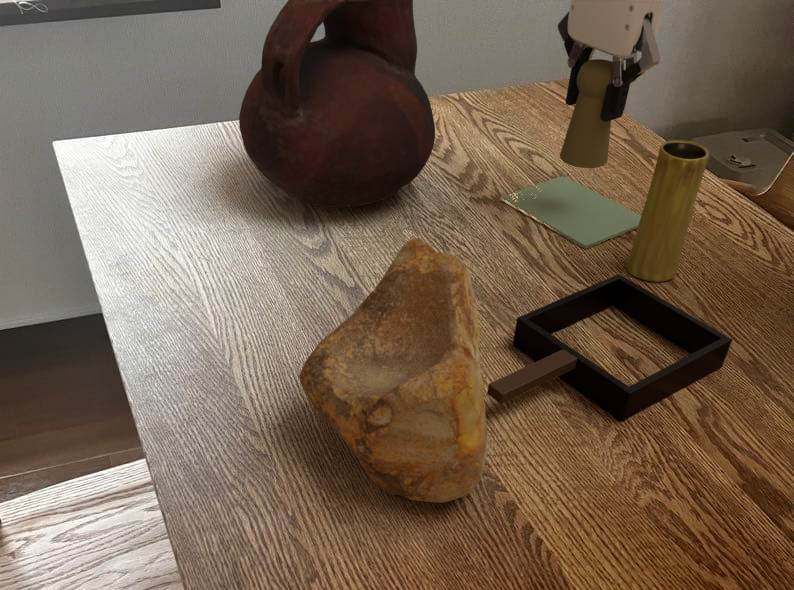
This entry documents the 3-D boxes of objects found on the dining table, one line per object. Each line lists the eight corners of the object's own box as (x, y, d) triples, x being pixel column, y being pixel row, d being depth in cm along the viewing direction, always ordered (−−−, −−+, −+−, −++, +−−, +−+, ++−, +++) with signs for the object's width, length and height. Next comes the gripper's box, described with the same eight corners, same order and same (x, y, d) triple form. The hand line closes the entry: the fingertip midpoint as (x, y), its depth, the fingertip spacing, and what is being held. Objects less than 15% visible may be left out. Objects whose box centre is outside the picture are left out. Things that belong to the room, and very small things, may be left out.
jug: (210, 182, 112) (181, -35, 94) (350, 136, 124) (348, -65, 106) (326, 253, 100) (318, 19, 82) (468, 194, 112) (489, -22, 94)
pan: (611, 301, 95) (618, 273, 92) (721, 367, 86) (732, 339, 84) (440, 378, 84) (442, 349, 81) (547, 462, 76) (553, 433, 73)
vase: (644, 287, 97) (679, 165, 86) (614, 262, 101) (644, 142, 90) (686, 277, 99) (725, 156, 88) (655, 253, 102) (689, 134, 92)
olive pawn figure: (598, 146, 106) (617, 52, 98) (614, 167, 102) (636, 70, 94) (553, 149, 106) (569, 54, 97) (568, 169, 102) (586, 72, 94)
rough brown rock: (314, 362, 86) (293, 230, 75) (472, 354, 86) (475, 219, 74) (300, 528, 71) (271, 394, 60) (492, 520, 71) (499, 383, 59)
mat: (562, 178, 116) (563, 175, 116) (649, 223, 108) (650, 220, 107) (499, 200, 111) (500, 196, 111) (585, 249, 103) (586, 245, 102)
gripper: (717, -59, 84) (668, 127, 97) (594, -92, 93) (565, 83, 106) (669, -49, 80) (625, 142, 94) (547, -84, 89) (522, 94, 103)
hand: (593, 109), depth 100 cm, fingers closed on olive pawn figure, 5 cm apart
